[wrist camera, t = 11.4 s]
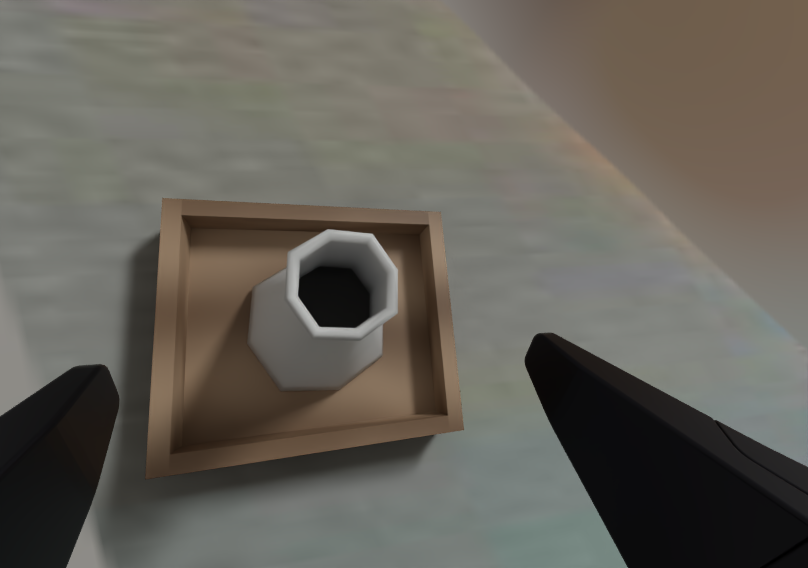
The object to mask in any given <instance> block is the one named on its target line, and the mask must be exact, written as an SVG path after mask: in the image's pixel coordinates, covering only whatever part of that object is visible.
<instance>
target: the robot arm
mask: <svg viewBox="0 0 808 568" xmlns="http://www.w3.org/2000/svg"><path fill="white" fill-rule="evenodd" d="M525 366H526V369H527V371H528V373H529V376H530V378H531V380H532V383H533V385H534V387H535V390H536V392H537V395H538V397H539V399H540V402H541V404H542V406H543V409H544V411H545V413H546V415H547V418H548V420H549V422H550V424H551V426H552V428H553V430H554V432H555V433H556V435H557V437H558V439H559V441H560V443H561V445H562V446H563V448H564V450H565V452H566V454H567V456H568V458H569V459H570V461H571V463H572V465H573V467H574V469H575V471H576V472H577V474H578V476H579V478H580V480H581V482H582V484H583V485H584V487H585V489H586V491H587V493H588V495H589V496H590V498H591V500H592V502H593V504H594V506H595V508H596V509H597V511H598V513H599V515H600V517H601V519H602V521H603V522H604V524H605V526H606V528H607V530H608V532H609V534H610V535H611V537H612V539H613V541H614V543H615V545H616V546H617V548H618V550H619V552H620V554H621V556H622V558H623V559H624V561H625V563H626V565H627V567H628V568H808V467H807V466H805V465H803V464H801V463H798V462H796V461H794V460H792V459H790V458H788V457H786V456H784V455H782V454H780V453H778V452H776V451H774V450H772V449H770V448H768V447H766V446H764V445H762V444H761V443H759V442H757V441H755V440H753V439H751V438H749V437H747V436H745V435H743V434H741V433H739V432H738V431H736V430H734V429H732V428H730V427H728V426H726V425H724V424H723V423H721V422H719V421H717V420H713V419H712V418H711V417H709V416H707V415H706V414H704V413H702V412H700V411H698V410H696V409H694V408H692V407H691V406H689V405H687V404H685V403H683V402H681V401H679V400H678V399H676V398H674V397H672V396H670V395H668V394H666V393H664V392H663V391H661V390H659V389H657V388H655V387H653V386H651V385H649V384H648V383H646V382H644V381H642V380H640V379H638V378H636V377H634V376H633V375H631V374H629V373H627V372H625V371H623V370H621V369H620V368H618V367H616V366H614V365H612V364H610V363H608V362H606V361H605V360H603V359H601V358H599V357H597V356H595V355H593V354H591V353H590V352H588V351H586V350H584V349H582V348H580V347H578V346H577V345H575V344H573V343H571V342H569V341H567V340H565V339H563V338H562V337H560V336H558V335H556V334H554V333H539V334H536V335H535V336H534V338H533V340H532V342H531V345H530V347H529V349H528V351H527V354H526V356H525ZM118 409H119V395H118V392H117V389H116V387H115V384H114V382H113V379H112V377H111V374H110V372H109V370H108V368H107V367H106V366H105V365H102V364H95V365H81V366H76V367H73V368H71V369H70V370H68V371H67V372H65V373H64V374H62V375H61V376H59V377H58V378H56V379H55V380H53V381H52V382H50V383H49V384H47V385H46V386H44V387H43V388H41V389H40V390H38V391H37V392H36V393H34V394H33V395H31V396H30V397H28V398H27V399H25V400H24V401H22V402H21V403H19V404H18V405H16V406H15V407H13V408H12V409H11V410H9V411H7V412H6V413H4V414H3V415H1V416H0V568H66V567H67V564H68V562H69V559H70V557H71V554H72V552H73V549H74V547H75V544H76V541H77V539H78V537H79V534H80V532H81V529H82V527H83V524H84V522H85V519H86V517H87V514H88V512H89V509H90V506H91V504H92V501H93V498H94V495H95V492H96V489H97V486H98V482H99V479H100V475H101V472H102V468H103V464H104V461H105V457H106V453H107V450H108V446H109V442H110V439H111V435H112V431H113V427H114V424H115V420H116V416H117V413H118Z"/></svg>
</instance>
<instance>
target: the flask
mask: <svg viewBox="0 0 808 568" xmlns="http://www.w3.org/2000/svg"><path fill="white" fill-rule="evenodd" d="M396 314H398V269H397V268H396V266H395V265H394V264H393V262H392V261H391V259H390V258H389V256H388V255H387V254H386V252H385V251H384V249H383V248H382V246H381V245H380V244H379V242H378V241H377V239H376V238H375V237H374V235H373V234H369V233H360V232H350V231H341V230H331V229H327V230H326V231H324V232H322V233H320V234H319V235H317V236H315V237H313V238H312V239H310V240H308V241H306V242H305V243H303V244H301V245H299V246H297V247H296V248H294V249H292V250H290V251H289V252H288V254H287V267H286V268H284V269H282V270H281V271H279V272H277V273H276V274H274V275H272V276H271V277H269V278H267V279H265V280H264V281H262V282H260V283H259V284H257V285H255V286H253V287H252V298H251V309H250V319H249V330H248V340H247V344H248V346H249V347H250V349H251V350H252V351H253V353H254V354H255V356H256V357H257V359H258V360H259V361H260V363H261V364H262V366H263V367H264V369H265V370H266V371H267V373H268V374H269V376H270V377H271V379H272V380H273V381H274V383H275V384H276V386H277V387H278V389H279V390H280V391H317V390H340V389H341V388H342V387H344V386H345V385H346V384H347V383H349V382H350V381H351V380H353V379H354V378H355V377H357V376H358V375H359V374H360V373H362V372H363V371H364V370H366V369H367V368H368V367H369V366H371V365H372V364H373V363H375V362H376V361H377V360H378V359H380V358H381V357H382V356H383V324H384V323H385V322H387V321H388V320H389V319H391V318H392V317H393V316H395V315H396Z"/></svg>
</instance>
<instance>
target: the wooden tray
mask: <svg viewBox="0 0 808 568" xmlns="http://www.w3.org/2000/svg"><path fill="white" fill-rule="evenodd" d="M327 229H331V230H341V231H350V232H360V233H369V234H373V235H374V237H375V238H376V239H377V241H378V242H379V244H380V245H381V246H382V248H383V249H384V251H385V252H386V254H387V255H388V256H389V258H390V259H391V261H392V262H393V264H394V265H395V266H396V268H397V269H398V314H396V315H395V316H393V317H392V318H391V319H389V320H388V321H387V322H385V323H384V324H383V356H382V357H381V358H380V359H378V360H377V361H376V362H375V363H373V364H372V365H371V366H369V367H368V368H367V369H366V370H364V371H363V372H362V373H360V374H359V375H358V376H357V377H355V378H354V379H353V380H351V381H350V382H349V383H347V384H346V385H345V386H344V387H342V388H341V389H340V390H317V391H280V390H279V389H278V387H277V386H276V384H275V383H274V381H273V380H272V379H271V377H270V376H269V374H268V373H267V371H266V370H265V369H264V367H263V366H262V364H261V363H260V361H259V360H258V359H257V357H256V356H255V354H254V353H253V351H252V350H251V349H250V347H249V346H248V344H247V340H248V330H249V319H250V309H251V298H252V287H253V286H255V285H257V284H259V283H260V282H262V281H264V280H265V279H267V278H269V277H271V276H272V275H274V274H276V273H277V272H279V271H281V270H282V269H284V268H286V267H287V254H288V252H289V251H290V250H292V249H294V248H296V247H297V246H299V245H301V244H303V243H305V242H306V241H308V240H310V239H312V238H313V237H315V236H317V235H319V234H320V233H322V232H324V231H326V230H327ZM460 430H464V426H463V416H462V407H461V398H460V388H459V379H458V369H457V360H456V351H455V341H454V332H453V322H452V313H451V303H450V294H449V285H448V275H447V266H446V256H445V247H444V238H443V228H442V219H441V212H430V211H410V210H390V209H370V208H350V207H330V206H310V205H290V204H269V203H249V202H229V201H209V200H189V199H169V198H162V213H161V229H160V245H159V262H158V278H157V294H156V311H155V327H154V343H153V360H152V376H151V392H150V409H149V425H148V441H147V458H146V474H145V479H152V478H158V477H165V476H171V475H177V474H184V473H190V472H197V471H203V470H210V469H216V468H222V467H229V466H235V465H242V464H248V463H255V462H261V461H267V460H274V459H280V458H287V457H293V456H300V455H306V454H312V453H319V452H325V451H332V450H338V449H344V448H351V447H357V446H364V445H370V444H377V443H383V442H389V441H396V440H402V439H409V438H415V437H422V436H428V435H434V434H441V433H447V432H454V431H460Z"/></svg>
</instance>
